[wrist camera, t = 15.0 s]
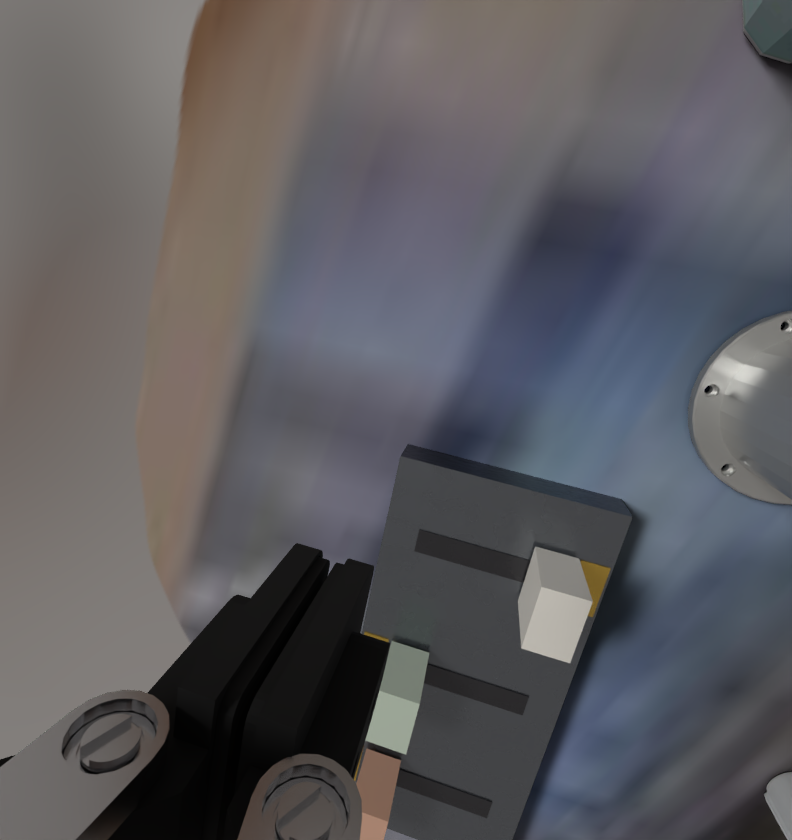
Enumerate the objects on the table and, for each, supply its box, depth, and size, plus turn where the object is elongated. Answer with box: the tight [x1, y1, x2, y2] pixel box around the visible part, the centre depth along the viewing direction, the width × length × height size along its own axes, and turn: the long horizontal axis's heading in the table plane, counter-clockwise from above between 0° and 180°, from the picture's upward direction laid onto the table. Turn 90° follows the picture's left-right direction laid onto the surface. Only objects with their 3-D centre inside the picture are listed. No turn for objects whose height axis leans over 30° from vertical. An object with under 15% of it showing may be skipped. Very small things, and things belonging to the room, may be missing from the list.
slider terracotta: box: [356, 749, 401, 840], centre depth 39 cm, size 3×4×5 cm, turn 168°
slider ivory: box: [518, 546, 593, 663], centre depth 32 cm, size 3×4×5 cm, turn 168°
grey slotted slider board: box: [354, 444, 633, 840], centre depth 40 cm, size 16×34×3 cm, turn 168°
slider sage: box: [365, 641, 429, 755], centre depth 36 cm, size 3×4×5 cm, turn 168°
